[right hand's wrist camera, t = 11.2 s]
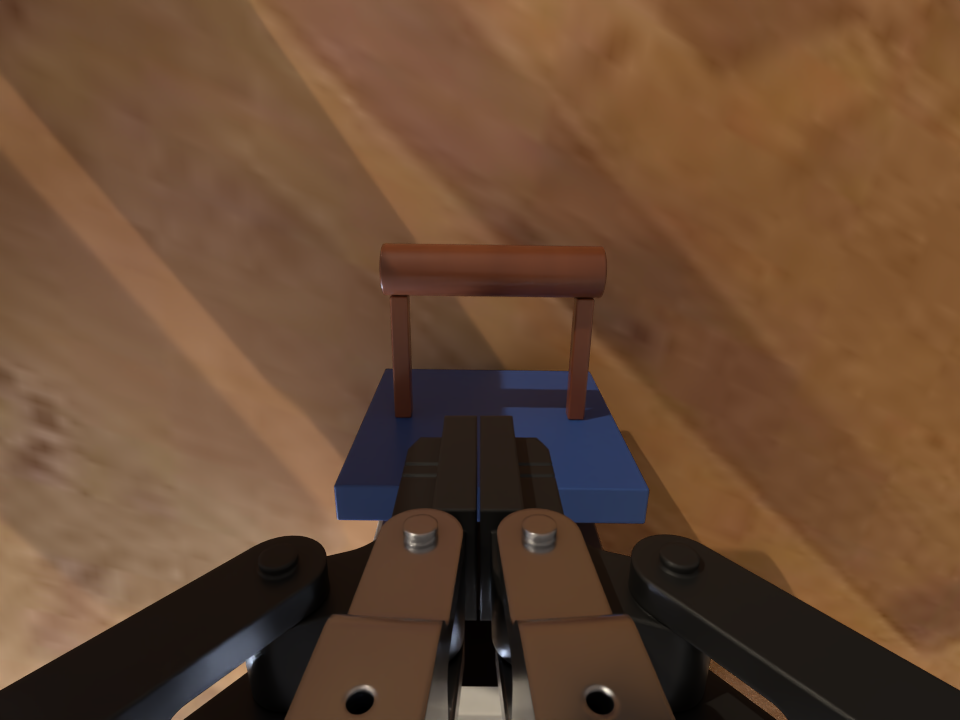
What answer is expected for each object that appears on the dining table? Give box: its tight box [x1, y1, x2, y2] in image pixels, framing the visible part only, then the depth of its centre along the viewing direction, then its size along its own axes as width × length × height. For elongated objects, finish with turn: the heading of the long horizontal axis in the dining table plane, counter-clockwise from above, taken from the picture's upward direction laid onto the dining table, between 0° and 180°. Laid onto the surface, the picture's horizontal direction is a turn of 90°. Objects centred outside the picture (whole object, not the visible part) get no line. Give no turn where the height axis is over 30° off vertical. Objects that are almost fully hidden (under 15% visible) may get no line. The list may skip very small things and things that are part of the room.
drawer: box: [334, 243, 649, 687], centre depth 21 cm, size 19×9×9 cm, turn 179°
